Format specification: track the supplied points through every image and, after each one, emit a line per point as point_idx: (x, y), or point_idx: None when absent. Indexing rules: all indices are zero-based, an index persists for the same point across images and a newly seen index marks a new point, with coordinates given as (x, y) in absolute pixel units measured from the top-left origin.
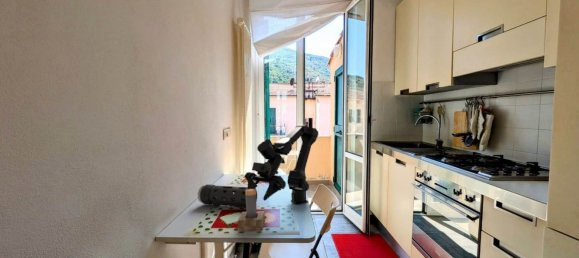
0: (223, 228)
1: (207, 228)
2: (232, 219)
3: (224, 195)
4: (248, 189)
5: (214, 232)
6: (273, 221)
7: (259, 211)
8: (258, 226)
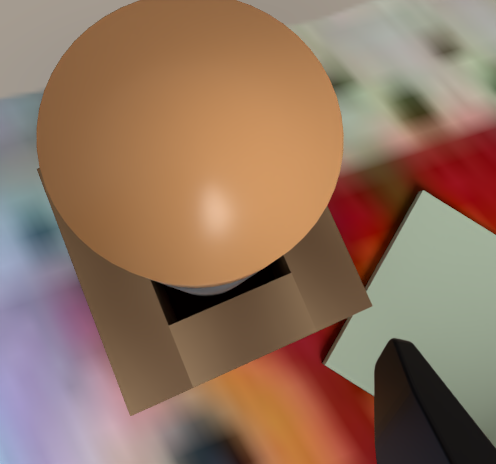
0: (404, 130)
1: None
2: (447, 289)
3: None
4: (307, 194)
5: (418, 53)
6: (57, 408)
7: (186, 384)
8: None
